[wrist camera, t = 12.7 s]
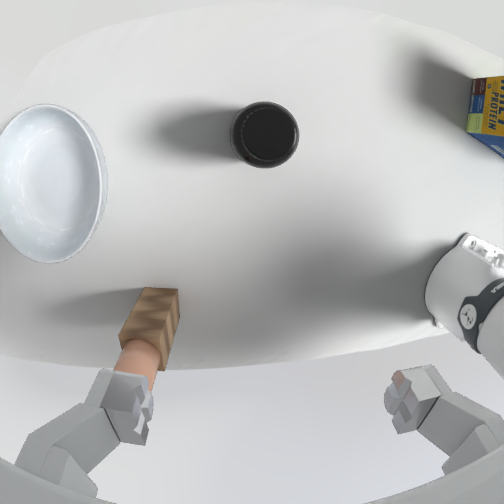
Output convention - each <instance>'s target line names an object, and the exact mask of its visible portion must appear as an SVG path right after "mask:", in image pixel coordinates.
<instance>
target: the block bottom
mask: <svg viewBox="0 0 504 504" xmlns="http://www.w3.org/2000/svg"><path fill="white" fill-rule="evenodd" d="M137 301H151V302H167V303H172V305H173V315H174V325H175V332H176V329H177V325H178V322H179V318H180V315H179V302H178V289H170V288H152V287H145V288H144V290H143V292H142V293H141V295H140V297H139V299H138V300H137Z"/></svg>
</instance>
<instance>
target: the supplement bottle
mask: <svg viewBox="0 0 504 504" xmlns="http://www.w3.org/2000/svg"><path fill="white" fill-rule="evenodd" d="M230 141H231V145H232V148H233V150H234V151H235V153H236V154H237V156H238V157H239V158H240V159H241V160H242V161H244V162H245V163H247V164H249V165H251V166H253V167H257V168H273V167H277V166H279V165H281V164H283V163H285V162H286V161H287V160H288V159H289V158H291V156H292V155H293V154H294V152H295V150H296V148H297V146H298V142H299V128H298V125H297V122H296V120H295V118H294V117H293V115H292V114H291V113H290V112H289V111H288V110H287V109H286V108H284V107H283V106H281V105H279V104H276V103H272V102H256V103H253V104H250V105H248V106H246V107H245V108H243V109H242V110H241V111H240V112H239V113H238V114H237V115H236V117H235V118H234V120H233V122H232V125H231V128H230Z"/></svg>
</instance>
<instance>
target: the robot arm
mask: <svg viewBox="0 0 504 504" xmlns="http://www.w3.org/2000/svg"><path fill="white" fill-rule="evenodd" d="M425 302H426V306H427V309H428V310H429V312H430V313H431V314H432V315H433V316H434V317H435V322H436V325H437V326H438V327H439V328H446V329H447V330H449V331H450V332H451V333H452V334H453V335H454V336H455V337H457V338H458V339H459V340H460V341H462V342H464V341H467V343H468V344H469V346H470V347H471V348H472V349H474V350H475V351H476V352H477V353H479V354H482V355H483V356H484V357H485V358H486V360H487V361H488V362H489V363H490V364H491V365H492V366H493V368H494V369H495V370H496V371H497V372H498V373H499V375H500V376H501V377H502V378H503V379H504V250H503V249H501V248H499V247H497V246H495V245H493V244H491V243H489V242H487V241H484V240H482V239H480V238H478V237H476V236H474V235H471V234H469V233H467V234H465V235H464V236H463V237H462V239H461V240H460V241H459V243H458V244H457V246H456V247H454V248H453V249H452V250H450V251H449V252H448V253H447V254H445V255H444V256H443V257H442V259H441V260H440V261H439V262H438V263H437V265H436V266H435V268H434V270H433V271H432V273H431V275H430V278H429V280H428V283H427V287H426V292H425ZM392 381H393V383H392V384H391V385H390V386H388V388H387V389H386V392H385V394H384V403H385V408H386V410H387V412H389V413H390V414H392V415H393V418H392V423H393V425H394V427H395V429H396V431H397V433H398V434H402V433H406V432H410V431H414V430H417V431H418V432H419V433H420V434H422V435H423V436H424V437H425V438H427V439H428V440H429V441H431V442H432V443H433V444H434V445H436V446H437V447H438V448H439V449H441V450H442V451H443V452H445V453H446V454H447V455H448V456H450V458H449V459H448V460H447V461H446V462H445V463H444V464H443V466H442V470H443V471H444V474H445V476H443V477H440V478H438V479H436V480H434V481H431V482H429V483H426V484H424V485H421V486H418V487H416V488H413V489H410V490H408V491H405V492H402V493H399V494H395V495H392V496H389V497H386V498H382V499H379V500H375V501H372V502H368V503H364V504H504V420H503V419H502V417H501V416H500V415H499V414H497V413H495V412H493V411H491V410H490V409H488V408H486V407H484V406H482V405H480V404H478V403H476V402H474V401H472V400H470V399H469V398H467V397H465V396H463V395H461V394H459V393H457V392H452V390H451V389H450V388H449V386H448V385H447V383H446V382H445V381H444V379H443V378H442V376H441V375H440V373H439V372H438V371H437V369H436V368H435V367H434V366H433V365H431V364H430V365H425V366H420V367H415V368H409V369H404V370H398V371H396V372H395V373H394V374H393V376H392ZM148 386H149V381H148V377H147V376H145V375H139V374H133V373H126V372H121V371H114V370H108V369H102V370H100V371H99V373H98V375H97V377H96V379H95V381H94V383H93V385H92V388H91V390H90V392H89V394H88V397H87V398H86V401H85V403H84V404H82V403H80V404H78V405H76V406H74V407H73V408H71V409H70V410H68V411H66V412H65V413H63V414H62V415H60V416H58V417H57V418H55V419H54V420H52V421H50V422H49V423H47V424H45V425H44V426H42V427H40V428H39V429H37V430H35V431H34V432H32V433H31V434H29V435H28V437H27V439H26V441H25V443H24V445H23V447H22V449H21V451H20V453H19V456H18V458H17V460H16V462H15V464H14V465H13V464H11V463H9V462H8V461H6V460H4V459H2V458H0V504H116V503H112V502H108V501H104V500H100V499H97V498H96V495H97V490H98V488H97V486H96V485H95V483H93V481H92V480H91V479H90V478H89V477H88V476H87V474H88V473H89V472H90V471H91V470H92V469H93V468H94V467H95V466H96V465H98V464H99V463H100V462H101V461H102V460H103V459H104V458H105V457H106V456H107V455H108V454H109V453H110V452H112V451H113V450H114V449H115V448H116V447H117V446H118V445H119V444H120V442H124V443H130V444H136V445H143V446H145V443H146V440H147V435H148V431H149V429H148V426H147V422H148V421H150V420H151V418H152V414H153V396H152V393H151V392H150V391H149V390H148Z"/></svg>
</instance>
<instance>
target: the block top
mask: <svg viewBox="0 0 504 504" xmlns="http://www.w3.org/2000/svg"><path fill="white" fill-rule="evenodd" d="M118 336H119V340H120V344H121V348H122V350H123V348H124V346H125V344H126V343H127V342H128V341H130V340H132V339H141V340H145V341H147V342H149V343H151V344H152V345H154V346H155V347H156V348H157V349H158V351H159V353H160V356H161V360H160V364H159V367H158V371H165V368H166V364H167V361H168V357H169V353H170V345H169V338H168V330H167V322H166V320H165V319H151V318H139V317H128V318H127V320H126V322H125V324H124V326H123V328H122V329H121V331H120V333H119V335H118Z"/></svg>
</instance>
